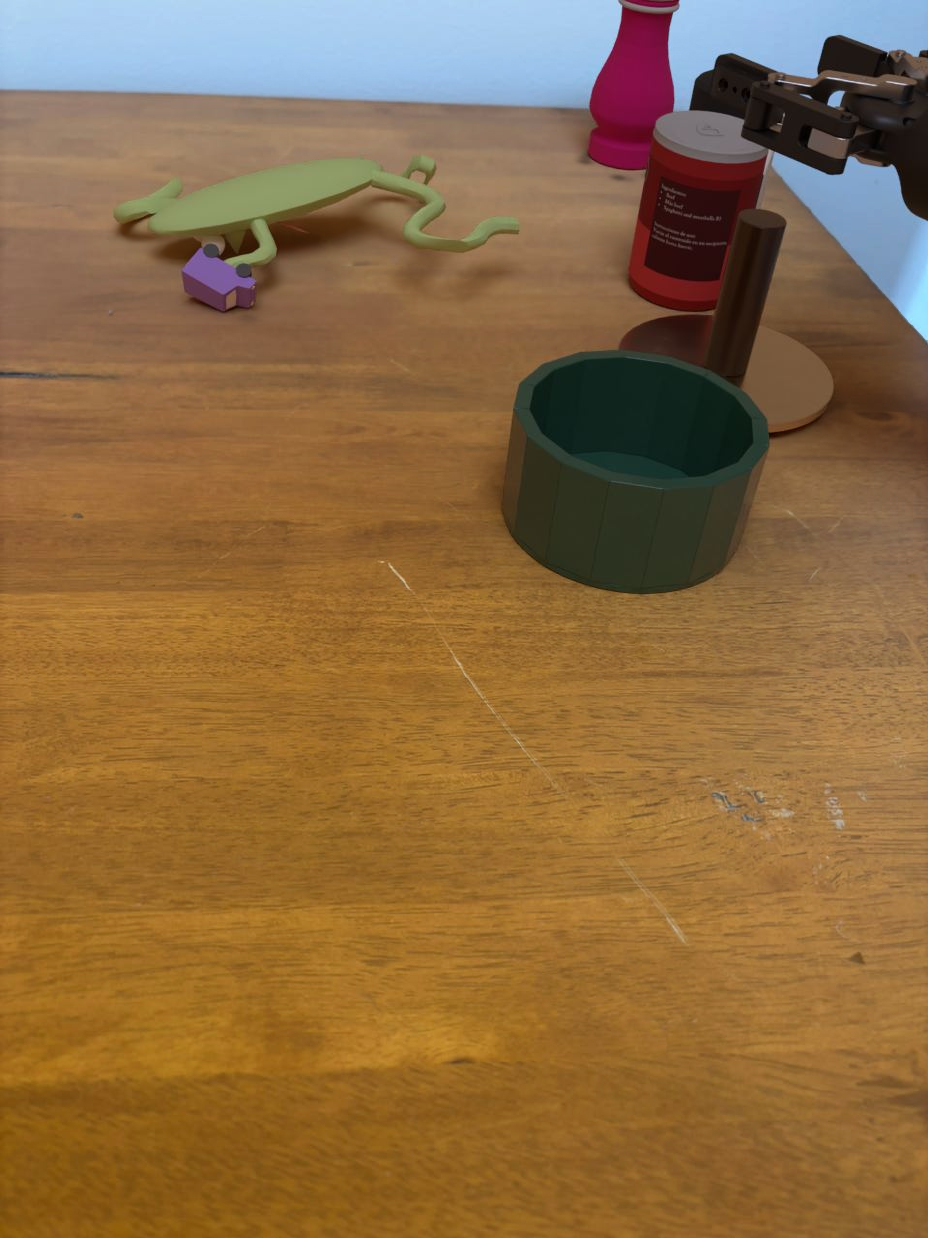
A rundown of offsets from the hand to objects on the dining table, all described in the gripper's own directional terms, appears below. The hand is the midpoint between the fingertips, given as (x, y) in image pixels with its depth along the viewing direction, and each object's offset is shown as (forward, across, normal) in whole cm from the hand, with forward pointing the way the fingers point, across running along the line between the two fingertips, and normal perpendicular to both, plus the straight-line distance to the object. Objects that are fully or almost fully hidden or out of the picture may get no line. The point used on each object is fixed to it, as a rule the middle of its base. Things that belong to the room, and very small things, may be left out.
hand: (772, 63), depth 62 cm
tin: (-9, +16, +18) cm, 26 cm away
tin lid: (-2, 0, +18) cm, 18 cm away
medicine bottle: (+14, -15, +19) cm, 28 cm away
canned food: (+9, -7, +19) cm, 22 cm away
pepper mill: (+30, -21, +19) cm, 41 cm away
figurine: (+26, +13, +19) cm, 34 cm away
